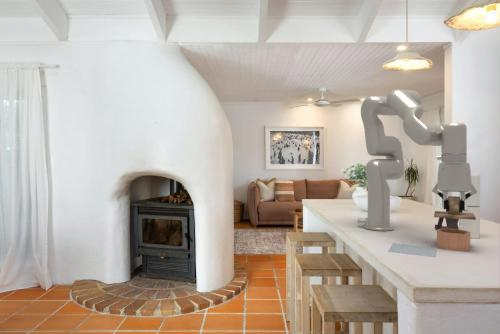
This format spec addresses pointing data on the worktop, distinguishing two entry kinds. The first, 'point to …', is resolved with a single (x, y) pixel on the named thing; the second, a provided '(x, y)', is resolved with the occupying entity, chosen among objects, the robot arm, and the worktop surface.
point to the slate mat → (413, 250)
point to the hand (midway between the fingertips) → (454, 211)
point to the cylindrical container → (472, 210)
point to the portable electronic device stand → (447, 223)
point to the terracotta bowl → (453, 239)
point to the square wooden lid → (454, 210)
